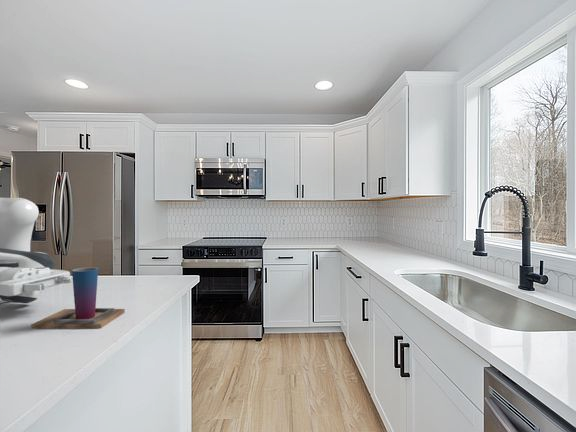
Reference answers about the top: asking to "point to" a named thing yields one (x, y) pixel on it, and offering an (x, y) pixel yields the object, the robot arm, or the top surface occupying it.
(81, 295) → the cup
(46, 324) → the board
